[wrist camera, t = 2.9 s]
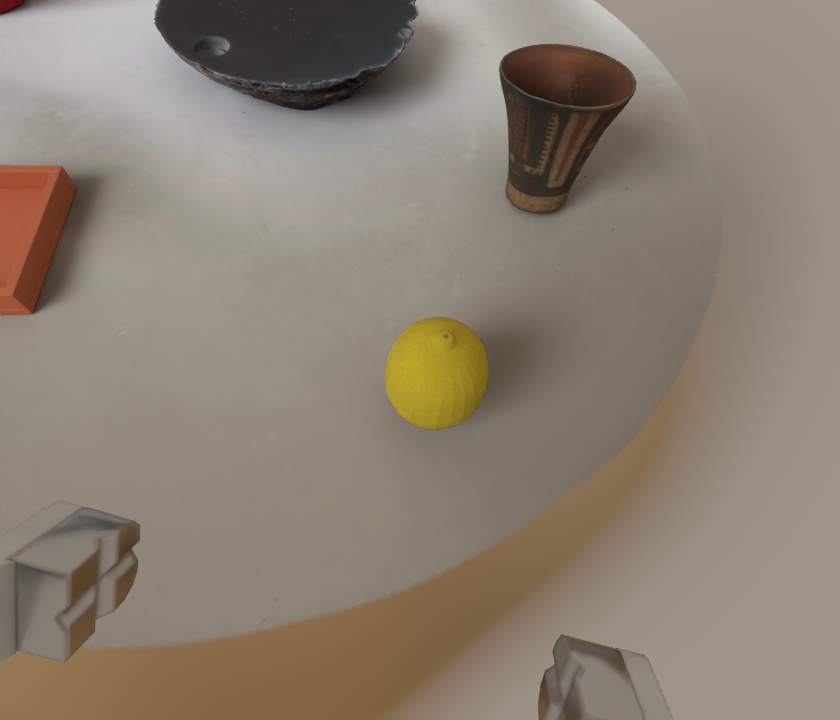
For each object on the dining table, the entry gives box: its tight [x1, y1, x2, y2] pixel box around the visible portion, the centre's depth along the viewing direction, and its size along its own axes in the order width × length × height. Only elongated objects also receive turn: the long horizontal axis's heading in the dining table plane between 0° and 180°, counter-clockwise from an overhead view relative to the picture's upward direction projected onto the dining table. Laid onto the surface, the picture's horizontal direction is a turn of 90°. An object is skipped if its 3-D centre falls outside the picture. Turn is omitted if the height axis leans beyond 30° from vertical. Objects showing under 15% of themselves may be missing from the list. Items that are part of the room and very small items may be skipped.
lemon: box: [385, 317, 489, 430], centre depth 27 cm, size 6×6×8 cm
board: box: [154, 0, 419, 110], centre depth 44 cm, size 22×22×5 cm
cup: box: [499, 44, 636, 213], centre depth 36 cm, size 9×9×10 cm
